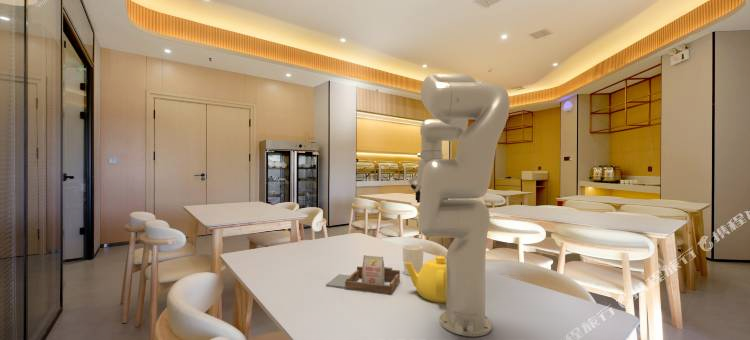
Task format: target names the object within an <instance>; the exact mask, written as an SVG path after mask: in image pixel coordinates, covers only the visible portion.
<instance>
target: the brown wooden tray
mask: <svg viewBox="0 0 750 340" xmlns="http://www.w3.org/2000/svg"><path fill="white" fill-rule="evenodd" d="M350 275H351V276H349V277H348V278H347V279H346V281H345V288H344V289H345V290H350V291H357V292H365V293H373V294H382V295H383V294H384V295H389V296H391V295H393V293H394V291H395V289H396V288H397V287H398V286H399V284H400V282H401V278H400V277H401V270H398V269H393V267H390V266H389V267H385V266H384V282H388V283H389V284H384V285H381V284H372V283H364V282H362V281H358V280H359V279H361V280H362V266H357V267H356V270H355V271H354V272H353V273H351V274H350Z"/></svg>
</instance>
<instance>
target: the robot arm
mask: <svg viewBox="0 0 750 340" xmlns="http://www.w3.org/2000/svg"><path fill="white" fill-rule="evenodd" d="M420 98H421V102H422V105H423V106H424V108H425V109H426V110H427V111H428V113H429V114H430V116H431V117H433V118H428V119H424V120H423V121H422V123H421V124H420V129H419V131H420V136H421V145H420V146H421V147H420V149H421V151H420V152H419V153H417V158H420V160H418V165H417V174H416V176H414V177H412V178H410V179H408V184H409V185H410V187H411V189H412V190H414V192H415V201H416V203H417V204H418V203H419V205H418V216H417V217H418V221H417V222H418V228H419V231H420V233H421V234H422V235H423V236H424V237H427V238H431V239H432V238H433V239H434V238H438V239H439V238H443V239H444V238H448V239H449V238H453V241H452V242H451V243H450V245H449V247H448V249H447V252H446V257H445V260H446V303H445V304H446V305H445V309H446V311H444V312H442V313H441V314H440V317H439V320H440V325H441V326H442V327H443V328H444V329H445V330H446V331H448V332H450V333H453V334H454V335H458V336H463V337H475V338H476V337H482V336H483V337H484V336H486V335H488V334H489V333H491V331H492V329H493V323H492V321H491V319H490V318H489V317H488V316H486V253H487V251H486V250H487V249H486V248H487V237H488V233H489V227H490V226H489V225H490V221H491V217H490V216H491V215H490V211H489V208H488V207H487V205H486V204H485V203H483V202H482V201H479V200H476V199H479V198H483V197H485V195H486V194H487V193H488V191H489V187H490V184H491V180H492V174H493V167H494V161H495V157H496V151H497V150H496V149H497V145H498V143H499V140H500V137H501V135H502V132H504V131H503V130H504V129H505V126H506V123H507V120H508V117H509V113H510V97H509V93H508V91H507V89H505V88H504V86H501V85H499V84H496V83H489V82H477V81H476V80H475V78H474V77H472V76H470V75H468V74H464V73H440V72H439V73H437V72H436V73H431V74H428V75H427V76H426V77H425V78H424V79H423V82H422V84H421V89H420ZM469 120H475V121H473V122H472V123H471V124H469ZM468 124H469V126H468ZM443 141H444V142H454V141H457V146H456V154H455V157H453V158H443ZM414 182H416V184H417V185H415V183H414Z"/></svg>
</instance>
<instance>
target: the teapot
mask: <svg viewBox="0 0 750 340" xmlns="http://www.w3.org/2000/svg"><path fill="white" fill-rule="evenodd" d="M406 267H407V270H408V272H409V275H408V276H409V277H410V280H411V282H412V284H413V287H415V289H416V292H418V294H419V295H420V296H421V298H423V299H425V300H427V301H428V302H433V303H440V304H441V303H442V304H446V257H445V256H444V255H440V254H439V255H438V254H437V255H435V257H434V258H433V259H429V260H427V261H425V262H424V263H423V266H422V268H421V270H420V272H419V274H418V273H416V271H415V269H414V268H413V266H412V264H411V263H406Z"/></svg>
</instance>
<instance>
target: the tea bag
mask: <svg viewBox="0 0 750 340" xmlns="http://www.w3.org/2000/svg"><path fill="white" fill-rule="evenodd" d="M361 267H362V279H361V282H364V283H372V284H381V285H385V281H384V267H385V263H384V256H377V255H376V256H375V255H366V254H365V255H363V261H362V266H361Z"/></svg>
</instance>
